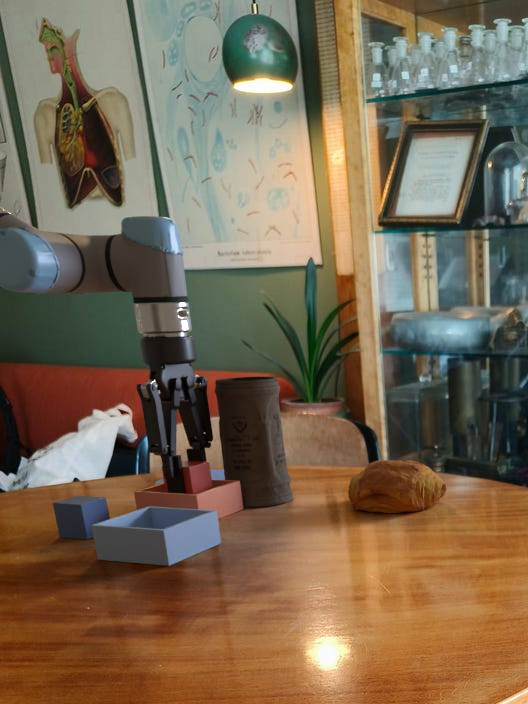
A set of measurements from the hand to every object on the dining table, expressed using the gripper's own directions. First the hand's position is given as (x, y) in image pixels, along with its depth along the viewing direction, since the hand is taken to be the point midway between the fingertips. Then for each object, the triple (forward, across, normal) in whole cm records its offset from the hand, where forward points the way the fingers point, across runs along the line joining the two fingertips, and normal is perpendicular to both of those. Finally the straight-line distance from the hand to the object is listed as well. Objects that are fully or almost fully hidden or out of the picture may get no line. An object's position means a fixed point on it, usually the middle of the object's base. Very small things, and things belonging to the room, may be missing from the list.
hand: (189, 494), depth 136 cm
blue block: (+3, -14, +8) cm, 16 cm away
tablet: (+3, +24, +12) cm, 27 cm away
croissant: (+4, +14, -28) cm, 31 cm away
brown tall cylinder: (+4, +14, -4) cm, 15 cm away
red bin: (+3, 0, 0) cm, 3 cm away
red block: (0, 0, 0) cm, 0 cm away
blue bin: (+3, -19, -9) cm, 21 cm away
